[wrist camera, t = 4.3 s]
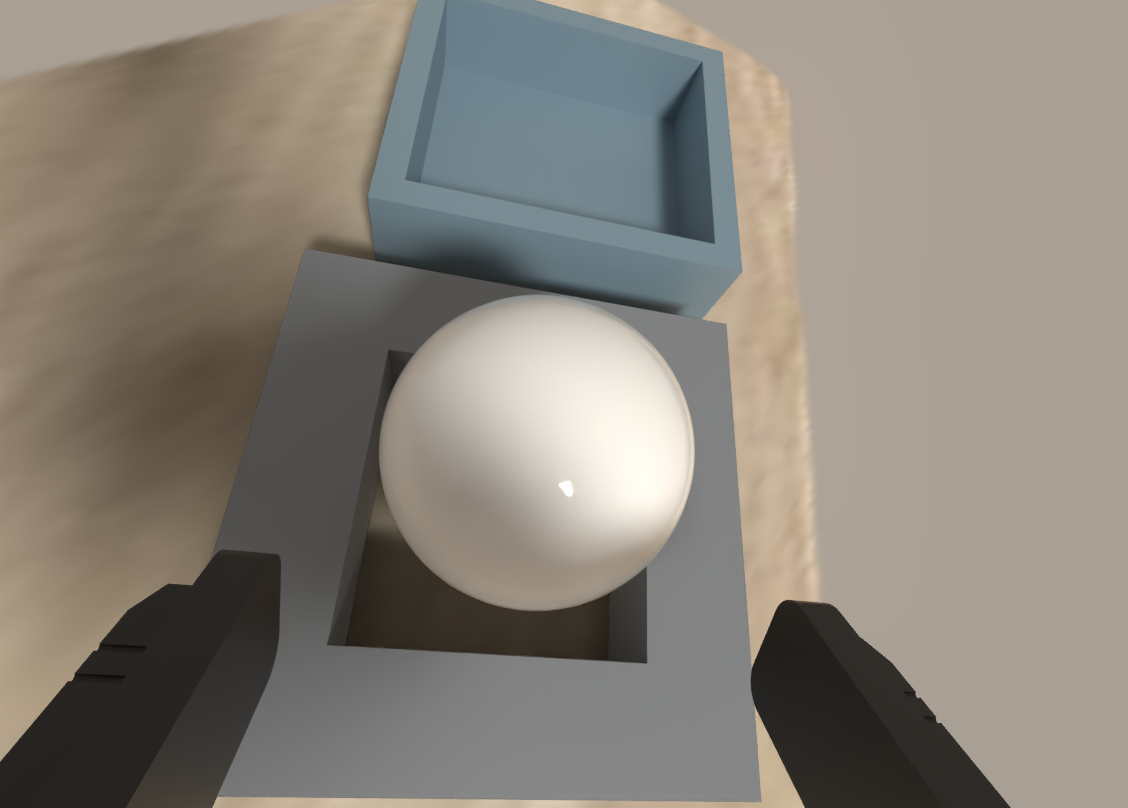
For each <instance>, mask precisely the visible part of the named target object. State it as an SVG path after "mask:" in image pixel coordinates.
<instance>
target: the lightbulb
mask: <svg viewBox="0 0 1128 808" xmlns="http://www.w3.org/2000/svg"><path fill="white" fill-rule="evenodd" d="M694 464H695V440H694V431H693V425H692V419H691V415H690V411H689V407H688V404H687V401H686V398H685V396H684V393H683V391H682V388H681V386H680V384H679V382H678V380H677V378H676V376H675V374H674V373H673V371H672V369H671V368H670V366H669V364H668V363H667V362H666V360H665V359H664V357H663V356H662V355H661V354H660V352H659V351H658V350H657V349H656V348H655V346H654V345H653V344H652V343H651V342H650V341H649V340H648V339H647V338H646V337H645V336H644V335H643V334H641V333H640V332H639V331H638V330H637V329H635V328H634V327H633V326H632V325H630V324H629V323H627V322H626V321H624V320H623V319H621V318H620V317H618V316H616V315H615V314H613V313H611V312H609V311H607V310H605V309H603V308H600V307H598V306H596V305H593V304H591V303H588V302H585V301H581V300H578V299H574V298H569V297H563V296H557V295H545V294H530V295H518V296H511V297H506V298H501V299H497V300H494V301H490V302H487V303H485V304H482V305H479V306H477V307H475V308H472V309H470V310H468V311H466V312H464V313H462V314H461V315H459V316H457V317H455V318H454V319H452V320H451V321H449V322H448V323H446V324H445V325H443V326H442V327H441V328H440V329H438V330H437V331H436V332H435V333H434V334H432V335H431V336H430V337H429V338H428V339H427V340H426V341H425V342H424V343H423V344H422V345H421V346H420V348H419V349H418V350H417V351H416V352H415V353H414V355H413V356H412V357H411V359H410V360H409V361H408V363H407V364H406V366H405V367H404V369H403V370H402V372H401V374H400V375H399V377H398V379H397V381H396V383H395V385H394V387H393V389H392V392H391V394H390V397H389V399H388V402H387V405H386V408H385V412H384V415H383V420H382V424H381V430H380V439H379V468H380V476H381V482H382V487H383V491H384V495H385V499H386V502H387V505H388V508H389V510H390V513H391V515H392V517H393V520H394V522H395V524H396V526H397V528H398V530H399V531H400V533H401V535H402V536H403V538H404V540H405V541H406V542H407V544H408V545H409V547H410V548H411V549H412V551H413V552H414V553H415V554H416V556H417V557H418V558H419V559H420V560H421V561H422V562H423V563H424V564H425V565H426V566H427V567H428V568H429V569H430V570H431V571H432V572H433V573H434V574H435V575H437V576H438V577H439V578H440V579H442V580H443V581H444V582H446V583H447V584H449V585H450V586H452V587H453V588H455V589H457V590H459V591H460V592H462V593H464V594H466V595H468V596H470V597H472V598H475V599H477V600H480V601H482V602H485V603H488V604H491V605H495V606H499V607H503V608H508V609H514V610H523V611H550V610H559V609H565V608H570V607H574V606H578V605H582V604H585V603H588V602H591V601H593V600H596V599H598V598H600V597H603V596H605V595H607V594H609V593H610V592H612V591H614V590H616V589H618V588H619V587H621V586H622V585H624V584H625V583H627V582H628V581H630V580H631V579H632V578H633V577H635V576H636V575H637V574H638V573H639V572H641V571H642V570H643V569H644V568H645V567H646V566H647V565H648V564H649V563H650V562H651V561H652V560H653V559H654V558H655V557H656V555H657V554H658V553H659V552H660V551H661V549H662V548H663V547H664V545H665V544H666V543H667V541H668V539H669V538H670V536H671V535H672V533H673V531H674V530H675V528H676V526H677V524H678V522H679V520H680V518H681V515H682V513H683V511H684V508H685V505H686V503H687V499H688V496H689V493H690V489H691V484H692V479H693V473H694Z"/></svg>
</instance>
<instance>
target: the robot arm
mask: <svg viewBox="0 0 1128 808" xmlns="http://www.w3.org/2000/svg"><path fill="white" fill-rule="evenodd" d="M280 593H281V559H280V556H279V555H278V554H271V553H260V552H248V551H237V550H225V549H223V550H220V551H218V552H217V553H216V554H215V556H214V557H213V558H212V559H211V561H210V562H209V563H208V565H207V566H206V568H205V569H204V570H203V572H202V573H201V574H200V576H199V577H198V578H197V580H196V581H195V583H194V584H193V585H179V584H167V585H166V586H164V587H163V588H161V589H160V590H158V591H156V592H155V593H153V594H152V595H150V596H149V597H147V598H146V599H144V600H143V601H141V602H140V603H138V604H137V605H135V606H133V607H132V608H130V609H129V610H128V611H127V612H126V613H125V614H124V615H123V617H122V618H121V619H120V620H119V621H118V623H117V624H116V625H115V626H114V627H113V629H112V630H111V631H110V632H109V633H108V634H107V636H106V637H105V638H104V639H103V640H102V642H101V643H100V646H99V649H98V650H97V651H93V652H92V653H91V655H90V656H89V657H88V658H87V659H86V661H85V662H84V663H83V664H82V665H81V667H80V668H79V669H78V670H77V671H76V672H75V676H74V679H73V680H72V681H68V682H67V683H66V684H65V686H64V687H63V688H62V689H61V690H60V692H59V693H58V694H57V695H56V696H55V697H54V699H53V700H52V701H51V702H50V703H49V705H48V706H47V707H46V708H45V709H44V711H43V712H42V713H41V714H40V715H39V716H38V718H37V719H36V720H35V721H34V722H33V724H32V725H31V726H30V727H29V728H28V730H27V731H26V732H25V733H24V734H23V735H22V737H21V738H20V739H19V740H18V741H17V743H16V744H15V745H14V746H13V747H12V749H11V750H10V751H9V752H8V753H7V754H6V756H5V757H4V758H3V759H2V760H1V762H0V808H212V807H213V805H214V802H215V800H216V798H217V796H218V793H219V791H220V789H221V787H222V784H223V782H224V780H225V778H226V775H227V773H228V771H229V769H230V766H231V764H232V762H233V760H234V757H235V755H236V753H237V751H238V748H239V746H240V744H241V742H242V739H243V737H244V735H245V733H246V730H247V728H248V726H249V724H250V721H251V719H252V717H253V715H254V712H255V710H256V708H257V706H258V703H259V701H260V699H261V697H262V694H263V692H264V690H265V688H266V685H267V683H268V681H269V678H270V675H271V672H272V669H273V666H274V662H275V658H276V654H277V649H278V643H279V630H280ZM751 693H752V698H753V702H754V705H755V707H756V709H757V712H758V714H759V716H760V718H761V720H762V722H763V724H764V726H765V728H766V730H767V732H768V734H769V736H770V738H771V740H772V742H773V744H774V746H775V748H776V750H777V752H778V754H779V756H780V758H781V760H782V762H783V764H784V766H785V768H786V770H787V772H788V774H789V776H790V778H791V780H792V782H793V784H794V786H795V788H796V790H797V792H798V794H799V796H800V798H801V800H802V802H803V804H804V807H805V808H1010V806H1009V805H1008V804H1007V803H1006V801H1005V800H1004V799H1003V798H1002V797H1001V795H1000V794H999V793H998V792H997V791H996V789H995V788H994V787H993V786H992V784H991V783H990V782H989V781H988V780H987V778H986V777H985V776H984V775H983V774H982V772H981V771H980V770H979V769H978V767H977V766H976V765H975V764H974V763H973V761H972V760H971V759H970V758H969V756H968V755H967V754H966V753H965V751H964V750H963V749H962V748H961V747H960V745H959V744H958V743H957V742H956V741H955V739H954V738H953V737H952V736H951V734H950V733H949V732H948V731H947V730H946V729H945V727H944V726H943V725H942V723H937V722H936V716H935V715H934V714H933V712H932V711H931V710H930V709H929V708H928V706H927V705H926V704H925V703H924V702H923V700H922V699H921V698H917V697H916V695H915V693H916V692H915V691H914V689H913V688H912V687H911V686H910V684H909V683H908V682H907V681H906V680H905V679H904V677H903V676H902V675H901V674H900V672H899V671H898V670H897V669H896V667H895V666H894V665H893V664H892V663H891V662H890V661H889V660H888V659H886V658H885V657H884V656H883V655H882V654H880V653H879V652H878V651H877V650H875V649H874V648H873V647H872V646H871V645H869V644H868V643H867V642H866V641H864V640H863V639H862V638H860V637H859V636H858V634H857V633H856V632H855V631H854V629H853V628H852V627H851V626H850V625H849V623H848V622H847V621H846V619H845V618H844V617H843V616H842V614H841V613H840V612H839V611H838V610H837V609H836V608H835V607H834V606H833V605H831V604H827V603H818V602H806V601H795V600H785V601H783V602H782V603H780V605H779V606H778V607H777V609H776V611H775V614H774V616H773V619H772V621H771V623H770V626H769V628H768V631H767V633H766V635H765V638H764V640H763V643H762V645H761V647H760V650H759V652H758V655H757V657H756V659H755V662H754V664H753V667H752V671H751Z"/></svg>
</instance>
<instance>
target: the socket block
mask: <svg viewBox="0 0 1128 808" xmlns="http://www.w3.org/2000/svg"><path fill="white" fill-rule="evenodd" d="M530 294H545V295H557V296H563V297H569V298H574V299H578V300H581V301H585V302H588V303H591V304H593V305H596V306H598V307H600V308H603V309H605V310H607V311H609V312H611V313H613V314H615V315H616V316H618V317H620V318H621V319H623V320H624V321H626V322H627V323H629V324H630V325H632V326H633V327H634V328H635V329H637V330H638V331H639V332H640V333H641V334H643V335H644V336H645V337H646V338H647V339H648V340H649V341H650V342H651V343H652V344H653V345H654V346H655V348H656V349H657V350H658V351H659V352H660V354H661V355H662V356H663V357H664V359H665V360H666V362H667V363H668V364H669V366H670V368H671V369H672V371H673V373H674V374H675V376H676V378H677V380H678V382H679V384H680V386H681V388H682V391H683V393H684V396H685V398H686V401H687V404H688V407H689V411H690V415H691V419H692V425H693V431H694V440H695V464H694V473H693V479H692V484H691V489H690V493H689V496H688V499H687V503H686V505H685V508H684V511H683V513H682V515H681V518H680V520H679V522H678V524H677V526H676V528H675V530H674V531H673V533H672V535H671V536H670V538H669V539H668V541H667V543H666V544H665V545H664V547H663V548H662V549H661V551H660V552H659V553H658V554H657V555H656V557H655V558H654V559H653V560H652V561H651V562H650V563H649V564H648V565H647V566H646V567H645V568H644V569H643V570H642V571H641V572H639V573H638V574H637V575H636V576H635V577H633V578H632V579H631V580H630V581H628V582H627V583H625V584H624V585H622V586H621V587H619V588H618V589H616V590H614V591H612V592H610V593H609V641H608V660H595V659H578V658H560V657H543V656H526V655H509V654H491V653H474V652H457V651H440V650H422V649H405V648H388V647H371V646H353V645H346V640H347V635H348V630H349V625H350V620H351V614H352V609H353V604H354V599H355V594H356V589H357V584H358V579H359V573H360V568H361V563H362V558H363V553H364V548H365V543H366V538H367V533H368V527H369V522H370V517H371V512H372V507H373V502H374V497H375V492H376V486H377V481H378V476H379V471H380V468H379V439H380V430H381V424H382V420H383V415H384V412H385V408H386V405H387V402H388V399H389V397H390V394H391V392H392V389H393V387H394V385H395V383H396V381H397V379H398V377H399V375H400V374H401V372H402V370H403V369H404V367H405V366H406V364H407V363H408V361H409V360H410V359H411V357H412V356H413V355H414V353H415V352H416V351H417V350H418V349H419V348H420V346H421V345H422V344H423V343H424V342H425V341H426V340H427V339H428V338H429V337H430V336H431V335H432V334H434V333H435V332H436V331H437V330H438V329H440V328H441V327H442V326H443V325H445V324H446V323H448V322H449V321H451V320H452V319H454V318H455V317H457V316H459V315H461V314H462V313H464V312H466V311H468V310H470V309H472V308H475V307H477V306H479V305H482V304H485V303H487V302H490V301H494V300H497V299H501V298H506V297H511V296H518V295H530ZM223 549H225V550H237V551H248V552H260V553H271V554H278V555H279V556H280V559H281V593H280V630H279V643H278V649H277V654H276V658H275V662H274V666H273V669H272V672H271V675H270V678H269V681H268V683H267V685H266V688H265V690H264V692H263V694H262V697H261V699H260V701H259V703H258V706H257V708H256V710H255V712H254V715H253V717H252V719H251V721H250V724H249V726H248V728H247V730H246V733H245V735H244V737H243V739H242V742H241V744H240V746H239V748H238V751H237V753H236V755H235V757H234V760H233V762H232V764H231V766H230V769H229V771H228V773H227V775H226V778H225V780H224V782H223V784H222V787H221V789H220V791H219V793H218V796H217V797H312V798H411V799H509V800H607V801H705V802H761V790H760V777H759V763H758V750H757V736H756V722H755V709H754V702H753V698H752V693H751V671H752V668H751V654H750V640H749V627H748V613H747V599H746V586H745V572H744V559H743V545H742V531H741V518H740V504H739V490H738V477H737V463H736V449H735V436H734V422H733V408H732V395H731V381H730V368H729V354H728V340H727V327H726V324H723V323H718V322H712V321H707V320H701V319H696V318H690V317H684V316H679V315H673V314H668V313H662V312H657V311H651V310H646V309H640V308H634V307H629V306H623V305H618V304H612V303H607V302H601V301H595V300H590V299H584V298H579V297H573V296H568V295H562V294H557V293H551V292H545V291H540V290H534V289H529V288H523V287H518V286H512V285H506V284H501V283H495V282H490V281H484V280H479V279H473V278H468V277H462V276H456V275H451V274H445V273H440V272H434V271H429V270H423V269H418V268H412V267H406V266H401V265H395V264H390V263H384V262H379V261H373V260H367V259H362V258H356V257H351V256H345V255H340V254H334V253H329V252H323V251H317V250H312V249H306V248H305V250H304V253H303V257H302V260H301V263H300V267H299V270H298V273H297V277H296V280H295V283H294V286H293V290H292V293H291V296H290V300H289V303H288V306H287V310H286V313H285V316H284V320H283V323H282V326H281V330H280V333H279V336H278V339H277V343H276V346H275V349H274V353H273V356H272V359H271V363H270V366H269V369H268V373H267V376H266V379H265V383H264V386H263V389H262V392H261V396H260V399H259V402H258V406H257V409H256V412H255V416H254V419H253V422H252V426H251V429H250V432H249V436H248V439H247V442H246V445H245V449H244V452H243V455H242V459H241V462H240V465H239V469H238V472H237V475H236V479H235V482H234V485H233V489H232V492H231V495H230V498H229V502H228V505H227V508H226V512H225V515H224V518H223V522H222V525H221V528H220V532H219V535H218V538H217V542H216V545H215V548H214V552H213V555H212V558H213V557H214V556H215V554H216V553H217V552H218V551H220V550H223ZM212 558H211V559H212Z"/></svg>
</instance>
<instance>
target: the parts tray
mask: <svg viewBox="0 0 1128 808" xmlns="http://www.w3.org/2000/svg"><path fill="white" fill-rule="evenodd" d="M367 198H368V206H369V214H370V222H371V230H372V238H373V246H374V253H375V261H379V262H384V263H390V264H395V265H401V266H406V267H412V268H418V269H423V270H429V271H434V272H440V273H445V274H451V275H456V276H462V277H468V278H473V279H479V280H484V281H490V282H495V283H501V284H506V285H512V286H518V287H523V288H529V289H534V290H540V291H545V292H551V293H557V294H562V295H568V296H573V297H579V298H584V299H590V300H595V301H601V302H607V303H612V304H618V305H623V306H629V307H634V308H640V309H646V310H651V311H657V312H662V313H668V314H673V315H679V316H684V317H690V318H696V319H702V318H703V317H704V316H705V315H706V314H707V312H708V311H709V310H710V309H711V308H712V307H713V305H714V304H715V303H716V302H717V301H718V300H719V298H720V297H721V296H722V295H723V294H724V293H725V291H726V290H727V289H728V288H729V287H730V286H731V284H732V283H733V282H734V281H735V280H736V278H737V277H738V276H739V275H740V274H741V273H742V263H741V252H740V241H739V229H738V218H737V207H736V196H735V185H734V174H733V163H732V152H731V141H730V130H729V119H728V108H727V97H726V86H725V75H724V64H723V53H722V52H721V51H717V50H714V49H710V48H706V47H703V46H699V45H696V44H692V43H688V42H685V41H681V40H677V39H674V38H670V37H667V36H663V35H659V34H656V33H652V32H648V31H645V30H641V29H638V28H634V27H630V26H627V25H623V24H619V23H616V22H612V21H609V20H605V19H601V18H598V17H594V16H590V15H587V14H583V13H580V12H576V11H572V10H569V9H565V8H562V7H558V6H554V5H551V4H547V3H543V2H540V1H536V0H418V2H417V6H416V10H415V14H414V17H413V21H412V25H411V29H410V33H409V37H408V41H407V45H406V48H405V52H404V56H403V60H402V64H401V68H400V72H399V76H398V80H397V83H396V87H395V91H394V95H393V99H392V103H391V107H390V111H389V114H388V118H387V122H386V126H385V130H384V134H383V138H382V142H381V146H380V149H379V153H378V157H377V161H376V165H375V169H374V173H373V177H372V180H371V184H370V188H369V192H368V196H367Z"/></svg>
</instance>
